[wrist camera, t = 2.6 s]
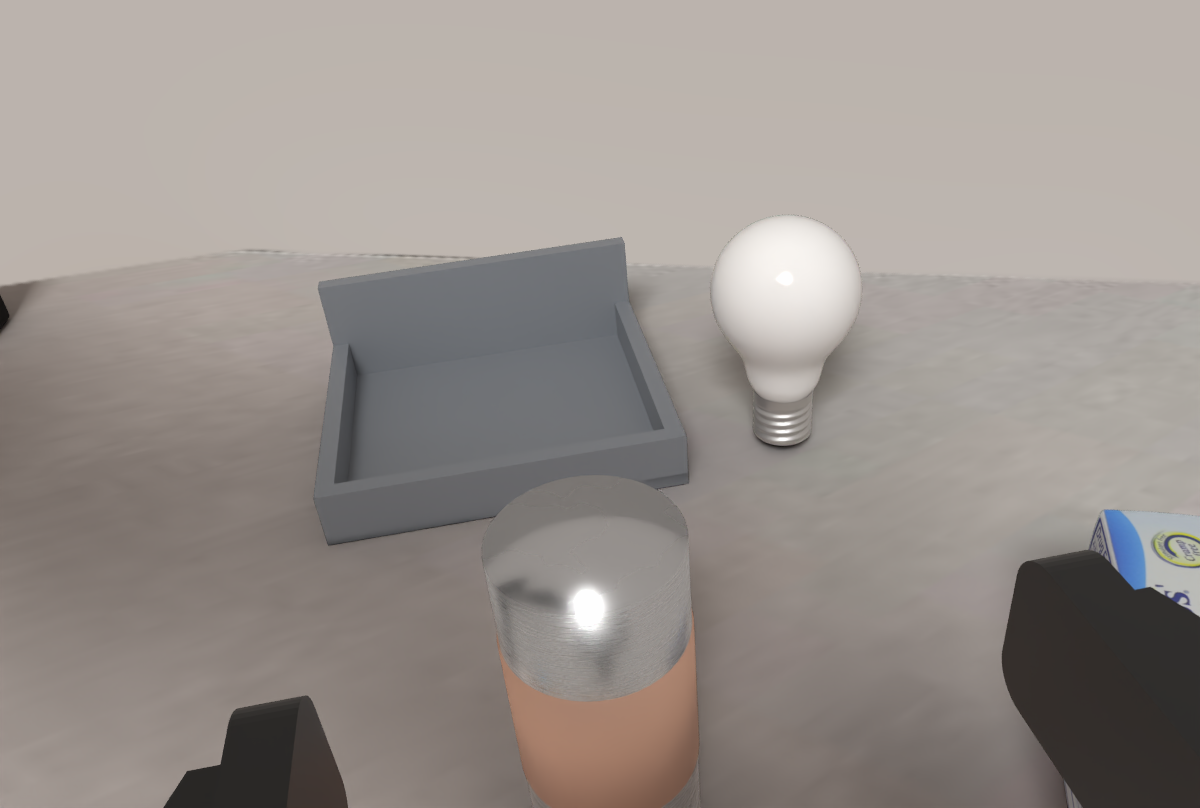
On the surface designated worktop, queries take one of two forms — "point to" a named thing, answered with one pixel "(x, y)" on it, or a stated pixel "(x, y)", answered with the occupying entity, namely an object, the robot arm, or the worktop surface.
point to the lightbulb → (785, 314)
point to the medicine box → (1151, 558)
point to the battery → (3, 313)
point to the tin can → (597, 643)
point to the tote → (486, 389)
